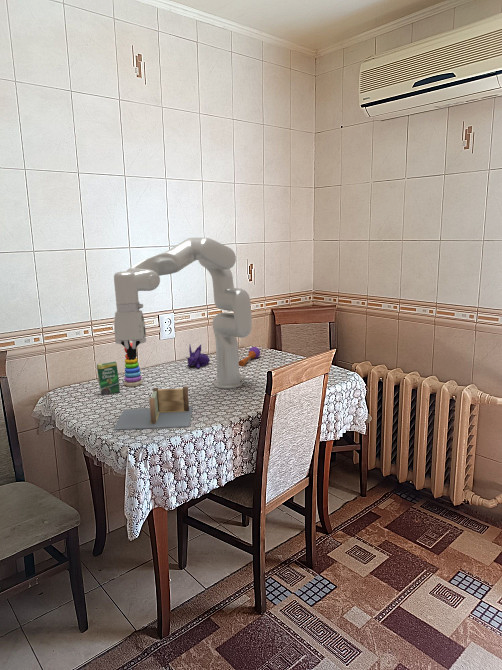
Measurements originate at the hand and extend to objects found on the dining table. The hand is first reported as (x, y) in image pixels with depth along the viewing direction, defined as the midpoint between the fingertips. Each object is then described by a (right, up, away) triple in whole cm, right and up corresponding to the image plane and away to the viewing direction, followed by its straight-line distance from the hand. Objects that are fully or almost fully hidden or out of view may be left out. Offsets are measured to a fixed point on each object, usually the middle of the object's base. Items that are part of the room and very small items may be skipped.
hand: (132, 359), depth 174 cm
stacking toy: (-10, -14, +45) cm, 49 cm away
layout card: (+7, -22, +6) cm, 24 cm away
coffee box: (-18, -16, +34) cm, 42 cm away
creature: (+15, -7, +71) cm, 73 cm away
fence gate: (+7, -21, +4) cm, 23 cm away
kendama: (+41, -5, +78) cm, 88 cm away
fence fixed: (+12, -20, +11) cm, 26 cm away
